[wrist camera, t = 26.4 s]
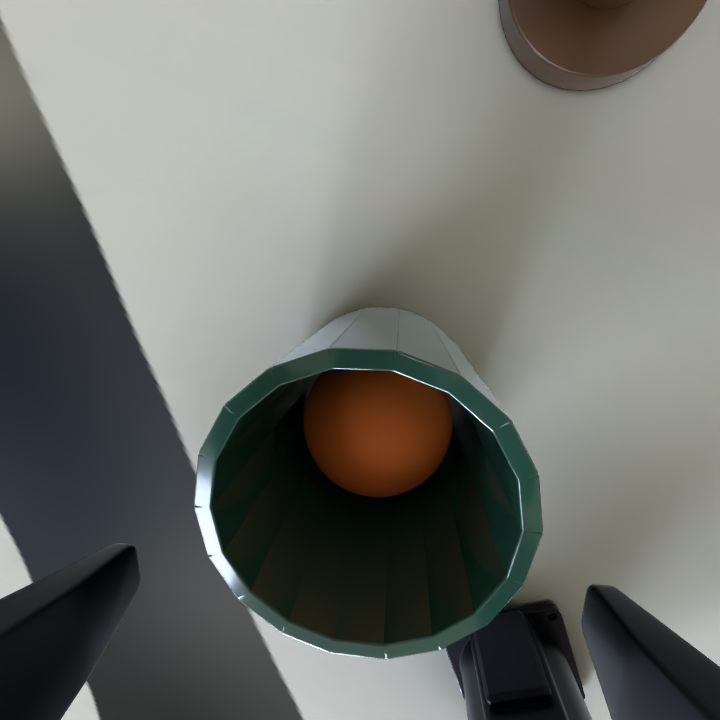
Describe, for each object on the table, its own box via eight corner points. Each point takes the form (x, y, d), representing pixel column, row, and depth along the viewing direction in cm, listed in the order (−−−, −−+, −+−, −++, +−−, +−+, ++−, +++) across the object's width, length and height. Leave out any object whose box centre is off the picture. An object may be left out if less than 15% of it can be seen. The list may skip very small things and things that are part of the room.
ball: (463, 488, 17) (495, 441, 12) (332, 528, 17) (308, 498, 11) (416, 375, 20) (426, 300, 15) (305, 406, 20) (276, 339, 15)
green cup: (491, 447, 19) (581, 626, 10) (329, 489, 21) (267, 681, 11) (441, 281, 18) (488, 295, 8) (270, 339, 19) (136, 411, 10)
